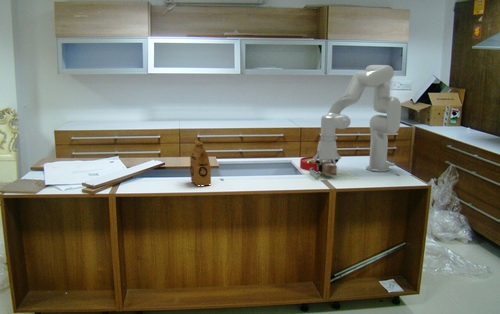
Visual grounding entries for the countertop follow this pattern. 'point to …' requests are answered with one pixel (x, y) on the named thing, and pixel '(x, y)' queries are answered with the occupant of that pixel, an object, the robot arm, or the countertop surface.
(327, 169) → the brown rectangular block
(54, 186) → the countertop surface
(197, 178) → the coffee package
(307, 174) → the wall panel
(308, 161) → the toy clock
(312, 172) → the screw rail
